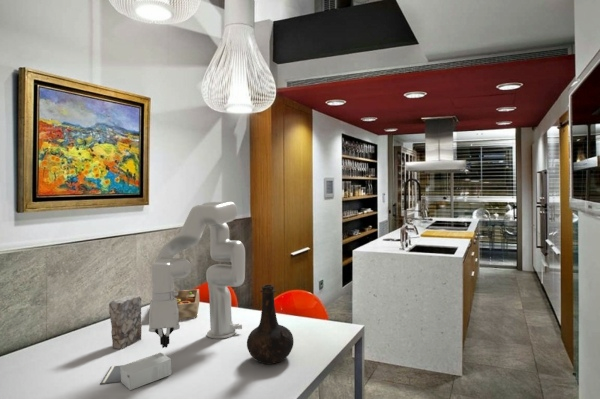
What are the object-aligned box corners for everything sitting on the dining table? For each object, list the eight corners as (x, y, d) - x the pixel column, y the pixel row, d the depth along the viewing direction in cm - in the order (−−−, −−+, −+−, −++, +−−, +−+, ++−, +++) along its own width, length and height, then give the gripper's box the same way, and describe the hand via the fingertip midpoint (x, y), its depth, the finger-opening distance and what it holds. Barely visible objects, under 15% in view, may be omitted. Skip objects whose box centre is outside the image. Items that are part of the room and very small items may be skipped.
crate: (199, 301, 245) (198, 289, 244) (197, 317, 213) (196, 302, 213) (160, 305, 240) (160, 292, 240) (152, 321, 209) (151, 306, 209)
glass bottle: (276, 372, 144) (273, 293, 144) (237, 363, 154) (234, 288, 153) (303, 355, 159) (300, 283, 159) (266, 347, 169) (263, 279, 168)
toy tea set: (181, 316, 213) (181, 298, 213) (153, 315, 215) (153, 297, 215) (201, 303, 239) (201, 287, 239) (176, 302, 241) (176, 286, 241)
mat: (161, 362, 157) (161, 360, 157) (155, 377, 143) (155, 376, 143) (110, 367, 154) (110, 366, 154) (100, 384, 140) (100, 383, 140)
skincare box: (162, 366, 150) (120, 382, 141) (161, 351, 150) (119, 365, 140) (172, 374, 144) (129, 392, 134) (171, 358, 144) (127, 374, 134)
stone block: (124, 350, 171) (122, 302, 171) (110, 349, 173) (108, 301, 172) (144, 338, 184) (142, 294, 183) (130, 338, 185) (128, 293, 185)
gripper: (185, 292, 155) (187, 340, 155) (143, 295, 152) (145, 345, 152) (183, 296, 147) (185, 347, 148) (139, 300, 144) (141, 352, 144)
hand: (165, 346), depth 150 cm, fingers closed
